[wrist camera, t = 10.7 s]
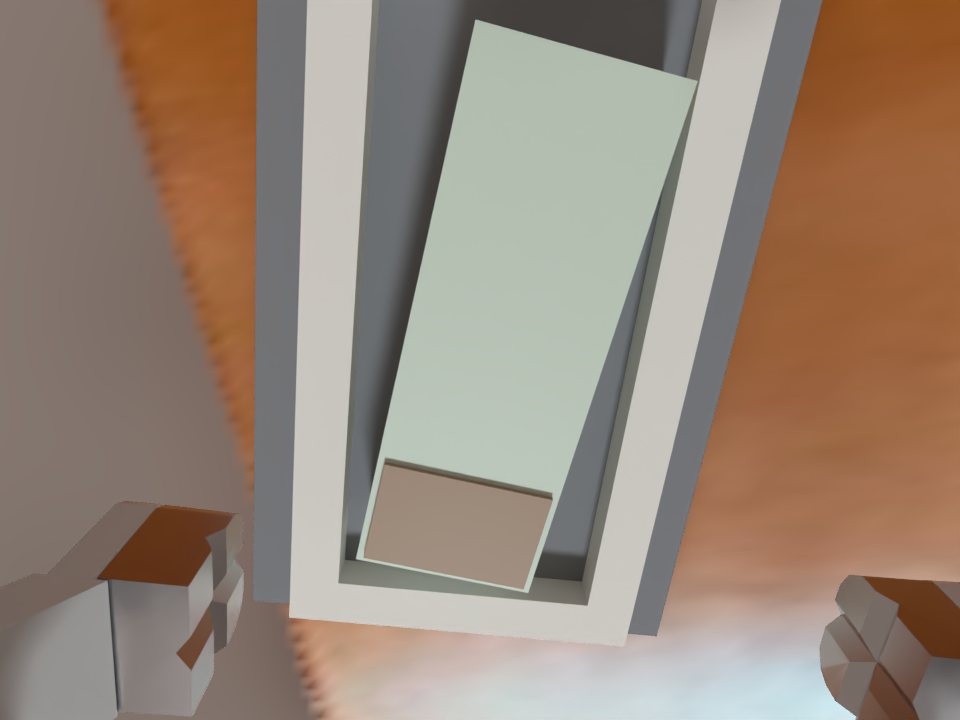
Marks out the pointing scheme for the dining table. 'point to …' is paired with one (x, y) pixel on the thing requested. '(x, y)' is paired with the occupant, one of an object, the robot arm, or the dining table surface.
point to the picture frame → (395, 270)
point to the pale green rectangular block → (517, 301)
